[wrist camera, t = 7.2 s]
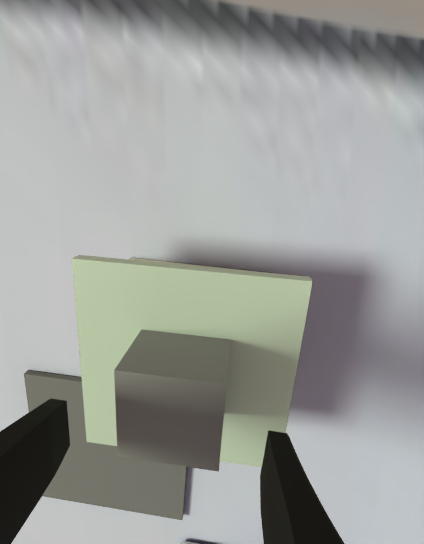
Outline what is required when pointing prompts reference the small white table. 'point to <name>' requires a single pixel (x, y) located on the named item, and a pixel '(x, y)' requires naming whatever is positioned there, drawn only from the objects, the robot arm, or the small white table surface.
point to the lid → (187, 358)
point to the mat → (104, 461)
